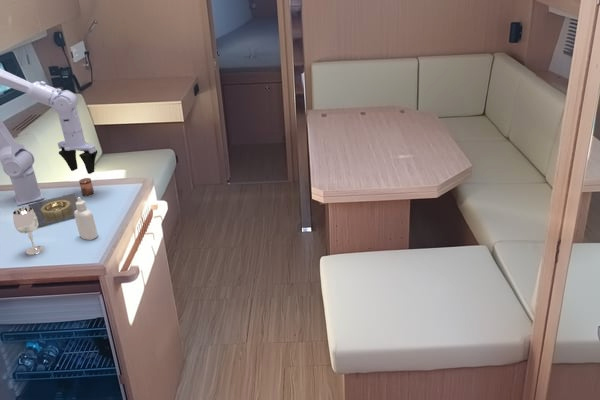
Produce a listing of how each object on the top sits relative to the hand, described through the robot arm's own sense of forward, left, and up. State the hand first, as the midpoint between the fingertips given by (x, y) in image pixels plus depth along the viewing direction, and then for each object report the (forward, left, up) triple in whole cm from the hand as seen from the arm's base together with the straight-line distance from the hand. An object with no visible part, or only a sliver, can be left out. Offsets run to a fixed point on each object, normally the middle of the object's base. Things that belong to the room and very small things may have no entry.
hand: (82, 171), depth 179 cm
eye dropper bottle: (+31, -6, -8) cm, 33 cm away
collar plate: (+7, -11, -8) cm, 15 cm away
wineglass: (+30, -20, -8) cm, 37 cm away
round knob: (0, 0, -8) cm, 8 cm away
